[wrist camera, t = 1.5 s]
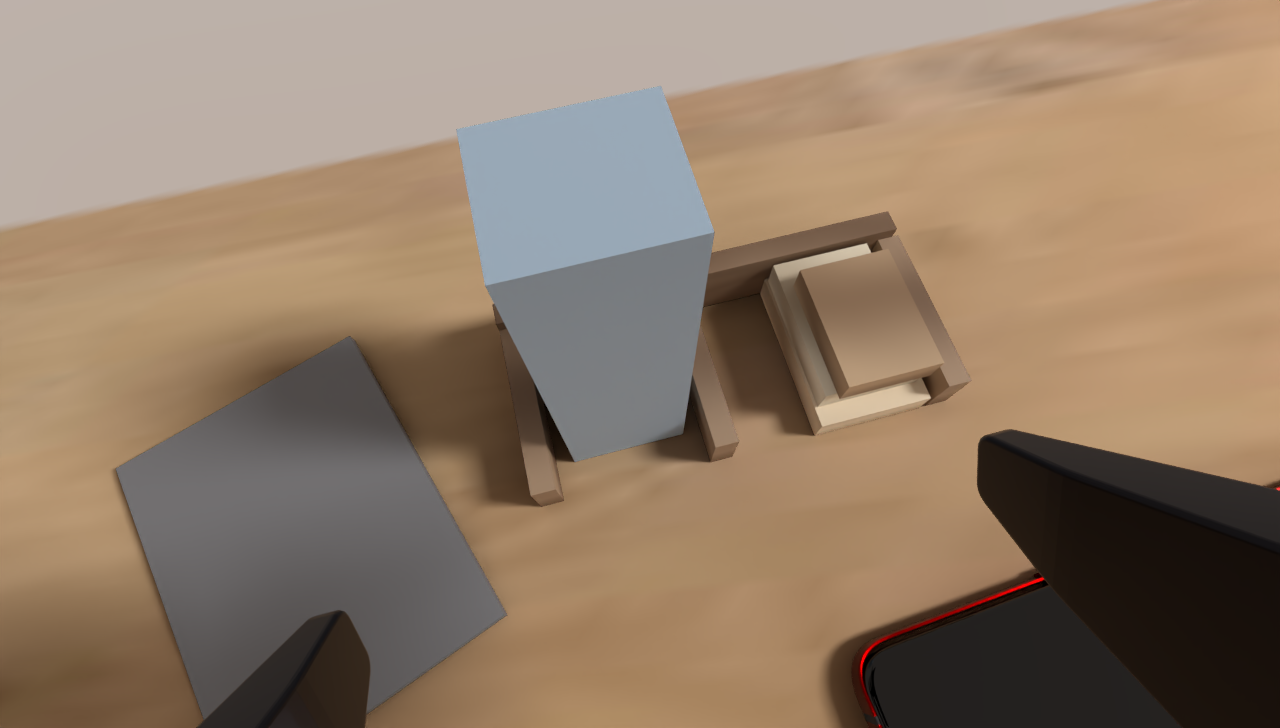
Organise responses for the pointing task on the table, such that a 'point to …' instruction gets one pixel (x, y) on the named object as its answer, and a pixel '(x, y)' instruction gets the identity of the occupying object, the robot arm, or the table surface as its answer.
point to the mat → (304, 531)
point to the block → (595, 261)
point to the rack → (726, 281)
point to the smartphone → (1001, 670)
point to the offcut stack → (850, 336)
